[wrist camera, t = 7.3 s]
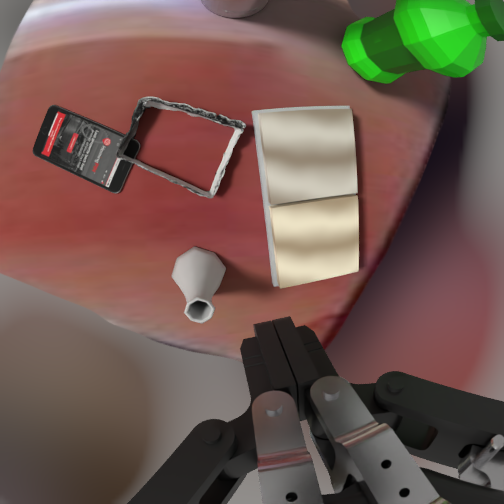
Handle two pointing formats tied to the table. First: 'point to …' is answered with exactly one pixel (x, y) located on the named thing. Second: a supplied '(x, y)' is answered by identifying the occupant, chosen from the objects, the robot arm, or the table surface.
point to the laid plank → (308, 154)
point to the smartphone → (84, 148)
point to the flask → (198, 281)
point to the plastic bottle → (423, 38)
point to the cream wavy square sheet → (315, 239)
